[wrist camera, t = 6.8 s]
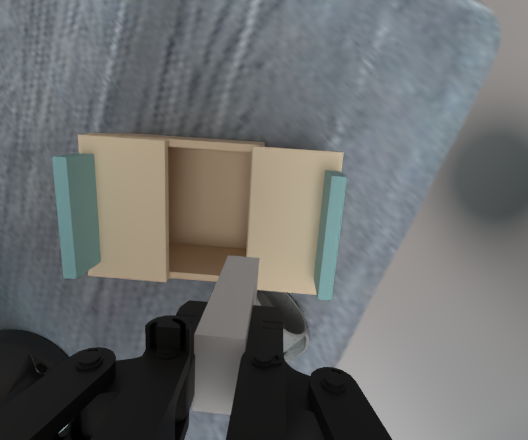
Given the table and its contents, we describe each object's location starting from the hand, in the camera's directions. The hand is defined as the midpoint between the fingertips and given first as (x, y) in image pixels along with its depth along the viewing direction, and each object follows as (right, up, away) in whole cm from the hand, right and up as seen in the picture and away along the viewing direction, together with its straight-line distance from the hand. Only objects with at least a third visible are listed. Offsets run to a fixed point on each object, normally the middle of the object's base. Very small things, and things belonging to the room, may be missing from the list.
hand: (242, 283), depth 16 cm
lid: (+3, +3, +11) cm, 12 cm away
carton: (-6, +6, +20) cm, 21 cm away
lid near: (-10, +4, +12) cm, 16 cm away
